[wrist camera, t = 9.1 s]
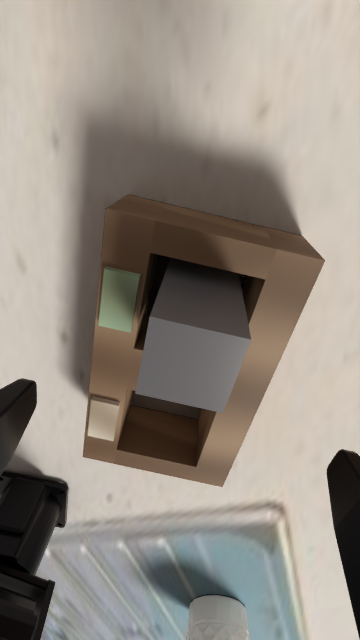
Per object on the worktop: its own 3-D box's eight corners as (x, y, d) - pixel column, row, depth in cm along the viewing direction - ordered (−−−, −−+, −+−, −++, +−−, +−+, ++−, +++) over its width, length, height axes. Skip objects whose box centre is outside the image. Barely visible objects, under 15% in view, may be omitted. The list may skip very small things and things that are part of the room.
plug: (219, 317, 20) (223, 413, 13) (162, 304, 20) (135, 393, 13) (236, 262, 18) (251, 339, 11) (173, 248, 18) (149, 316, 11)
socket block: (221, 438, 25) (222, 491, 21) (101, 412, 25) (81, 460, 21) (302, 235, 17) (327, 262, 13) (127, 194, 17) (103, 210, 13)
